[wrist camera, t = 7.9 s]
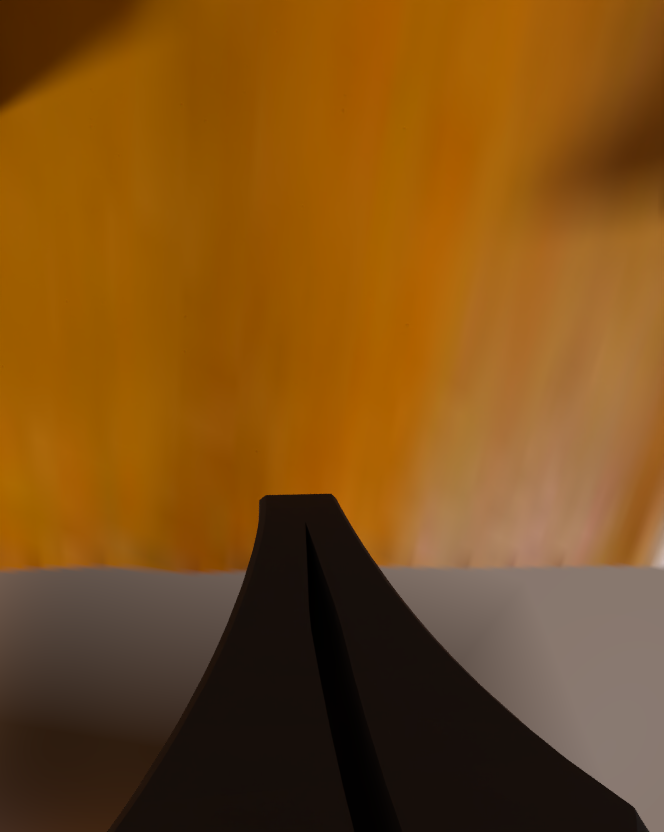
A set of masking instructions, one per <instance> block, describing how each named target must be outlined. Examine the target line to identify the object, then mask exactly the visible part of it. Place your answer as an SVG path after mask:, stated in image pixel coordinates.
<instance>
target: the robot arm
mask: <svg viewBox="0 0 664 832" xmlns="http://www.w3.org/2000/svg"><path fill="white" fill-rule="evenodd" d="M107 832H649V831H648V829H647V828H646V826H645V825H644V823H643V821H642V820H641V818H640V817H639V815H638V813H637V812H636V810H635V808H634V807H633V806H631V805H630V804H629V803H627V802H626V801H624V800H623V799H622V798H620V797H619V796H618V795H616V794H615V793H613V792H612V791H611V790H609V789H608V788H606V787H605V786H604V785H602V784H601V783H599V782H598V781H597V780H595V779H594V778H592V777H591V776H590V775H588V774H587V773H585V772H584V771H583V770H581V769H580V768H579V767H577V766H576V765H574V764H573V763H572V762H570V761H569V760H567V759H566V758H565V757H564V756H562V755H561V754H560V753H558V752H557V751H556V750H555V749H553V748H552V747H551V746H550V745H549V744H547V743H546V742H545V741H544V740H543V739H541V738H540V737H539V736H538V735H536V734H535V733H534V732H533V731H531V730H530V729H529V728H528V727H527V726H526V725H524V724H523V723H522V722H521V721H520V720H519V719H518V718H517V717H515V716H514V715H513V714H512V713H511V712H510V711H509V710H508V709H507V708H505V707H504V706H503V705H502V704H501V703H500V702H499V701H498V700H497V699H495V698H494V697H493V696H492V695H491V694H490V693H489V692H487V691H486V690H485V689H484V688H483V687H482V686H481V685H480V684H479V683H478V682H477V681H476V680H475V679H474V678H473V677H472V676H471V675H470V674H469V673H468V672H467V671H466V670H465V669H464V668H463V667H462V666H461V665H460V664H459V663H458V662H457V661H456V660H455V659H454V658H453V657H452V656H451V655H450V654H449V653H448V652H447V651H446V650H445V649H444V648H443V646H442V645H441V644H440V643H439V642H438V641H437V640H436V639H435V638H434V637H433V635H432V634H431V633H430V632H429V631H428V630H427V629H426V628H425V627H424V625H423V624H422V623H421V622H420V620H419V619H418V618H417V617H416V616H415V614H414V613H413V612H412V611H411V609H410V608H409V607H408V606H407V605H406V603H405V602H404V601H403V600H402V598H401V597H400V596H399V594H398V593H397V592H396V590H395V589H394V588H393V587H392V585H391V584H390V583H389V581H388V580H387V578H386V577H385V576H384V574H383V573H382V571H381V570H380V569H379V567H378V566H377V564H376V563H375V561H374V560H373V559H372V557H371V556H370V554H369V553H368V551H367V550H366V548H365V547H364V545H363V544H362V542H361V541H360V539H359V537H358V536H357V534H356V533H355V531H354V529H353V528H352V526H351V524H350V523H349V521H348V519H347V518H346V516H345V514H344V512H343V511H342V509H341V507H340V505H339V503H338V501H337V499H336V498H335V497H334V496H333V495H332V494H299V495H266V496H264V497H263V498H262V499H260V500H259V523H258V529H257V534H256V539H255V543H254V547H253V551H252V555H251V558H250V561H249V565H248V568H247V571H246V575H245V578H244V581H243V584H242V587H241V590H240V592H239V595H238V597H237V600H236V603H235V605H234V608H233V610H232V613H231V616H230V618H229V621H228V623H227V626H226V628H225V631H224V633H223V635H222V637H221V640H220V642H219V644H218V646H217V648H216V650H215V653H214V655H213V657H212V659H211V661H210V663H209V665H208V667H207V669H206V671H205V673H204V675H203V677H202V679H201V681H200V683H199V685H198V687H197V689H196V690H195V692H194V694H193V696H192V698H191V700H190V702H189V704H188V706H187V707H186V709H185V711H184V713H183V714H182V717H181V718H180V720H179V722H178V724H177V725H176V727H175V729H174V730H173V732H172V734H171V735H170V737H169V738H168V740H167V742H166V743H165V745H164V746H163V748H162V750H161V751H160V753H159V754H158V756H157V758H156V759H155V761H154V763H153V764H152V766H151V767H150V769H149V771H148V772H147V774H146V775H145V777H144V779H143V780H142V782H141V784H140V785H139V786H138V788H137V790H136V791H135V793H134V794H133V796H132V797H131V799H130V800H129V802H128V803H127V804H126V806H125V807H124V809H123V810H122V812H121V813H120V815H119V816H118V817H117V819H116V820H115V821H114V823H113V824H112V826H111V827H110V829H109V830H108V831H107Z"/></svg>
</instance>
